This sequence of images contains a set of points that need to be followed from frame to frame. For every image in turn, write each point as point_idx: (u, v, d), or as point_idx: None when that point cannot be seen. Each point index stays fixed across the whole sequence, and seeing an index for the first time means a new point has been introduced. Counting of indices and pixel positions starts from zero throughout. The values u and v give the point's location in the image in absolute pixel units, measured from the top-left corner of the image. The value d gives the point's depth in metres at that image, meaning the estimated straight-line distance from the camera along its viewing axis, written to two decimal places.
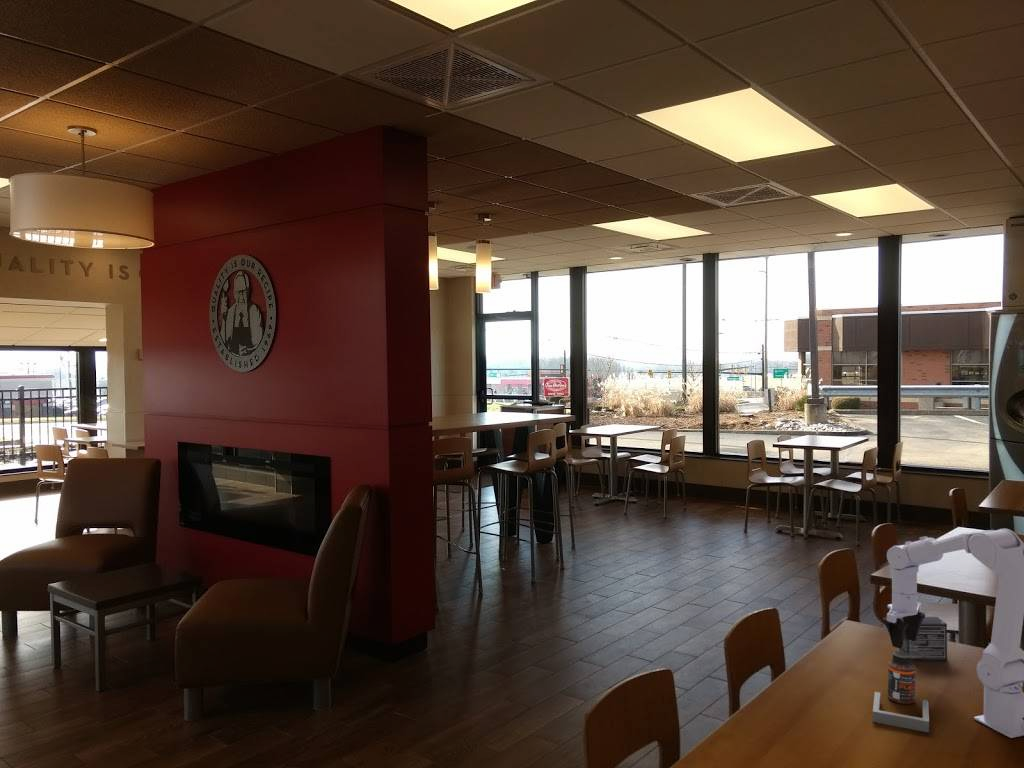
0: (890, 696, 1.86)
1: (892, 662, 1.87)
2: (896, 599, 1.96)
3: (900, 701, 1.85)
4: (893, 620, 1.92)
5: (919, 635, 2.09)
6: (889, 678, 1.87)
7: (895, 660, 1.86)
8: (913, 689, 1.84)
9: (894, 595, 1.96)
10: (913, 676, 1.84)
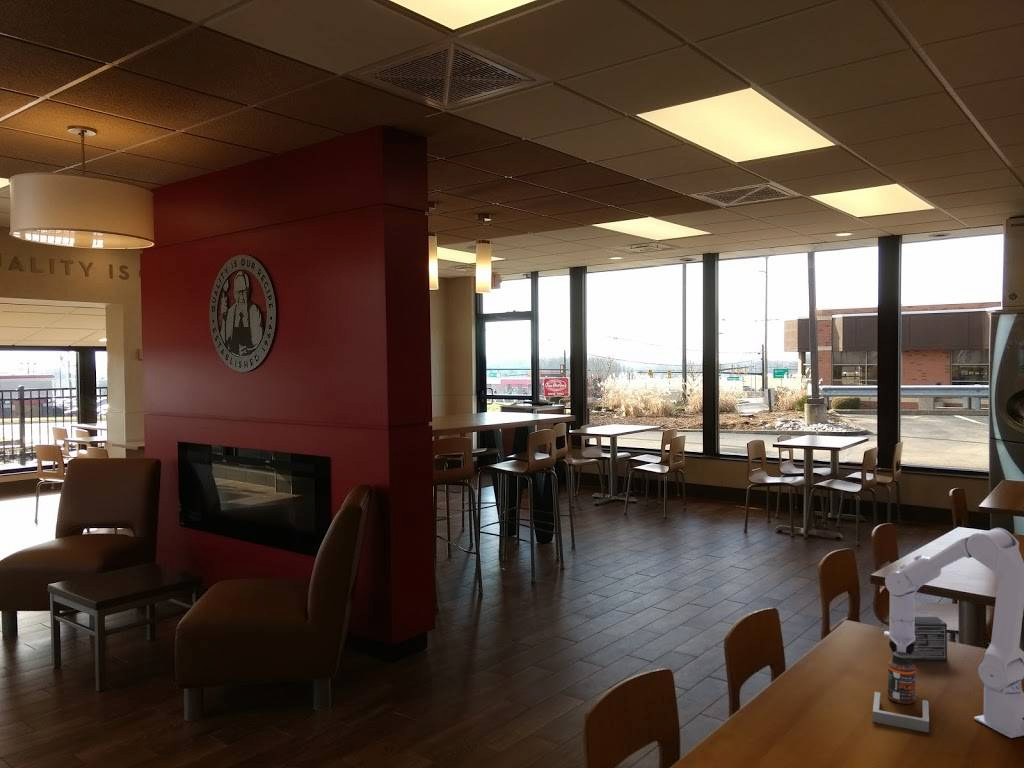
0: (890, 696, 1.86)
1: (892, 662, 1.87)
2: (899, 626, 1.91)
3: (900, 701, 1.85)
4: (904, 650, 1.87)
5: (919, 635, 2.09)
6: (889, 678, 1.87)
7: (895, 660, 1.86)
8: (913, 689, 1.84)
9: (895, 623, 1.92)
10: (913, 676, 1.84)
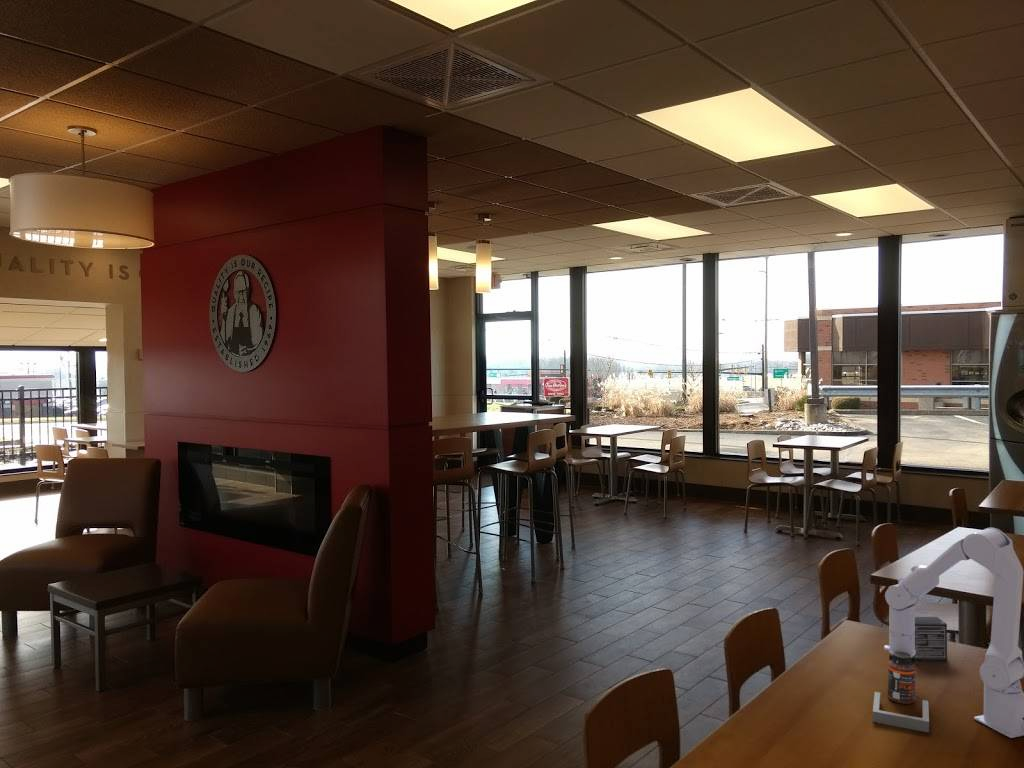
0: (890, 696, 1.86)
1: (892, 662, 1.87)
2: (898, 640, 1.89)
3: (900, 701, 1.85)
4: None
5: (919, 635, 2.09)
6: (889, 678, 1.87)
7: (895, 660, 1.86)
8: (913, 689, 1.84)
9: (895, 637, 1.90)
10: (913, 676, 1.84)
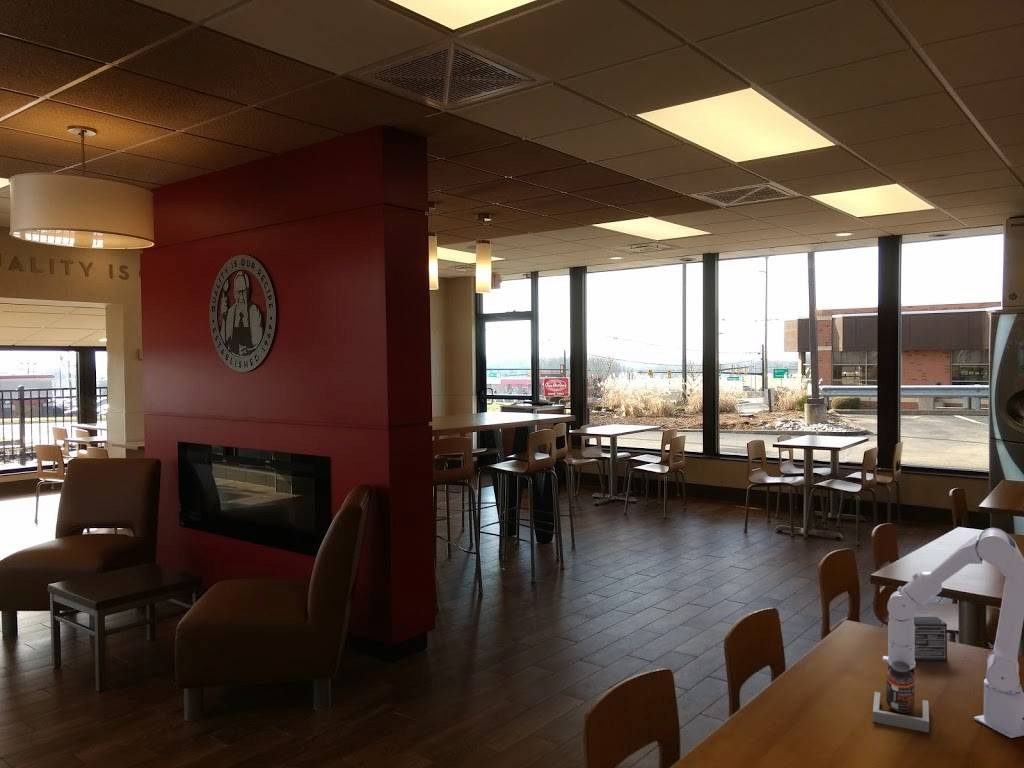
0: (889, 704, 1.82)
1: (890, 674, 1.80)
2: (898, 652, 1.82)
3: (899, 711, 1.80)
4: None
5: (919, 635, 2.09)
6: (887, 688, 1.81)
7: (893, 673, 1.79)
8: (912, 699, 1.79)
9: (894, 648, 1.83)
10: (912, 688, 1.78)
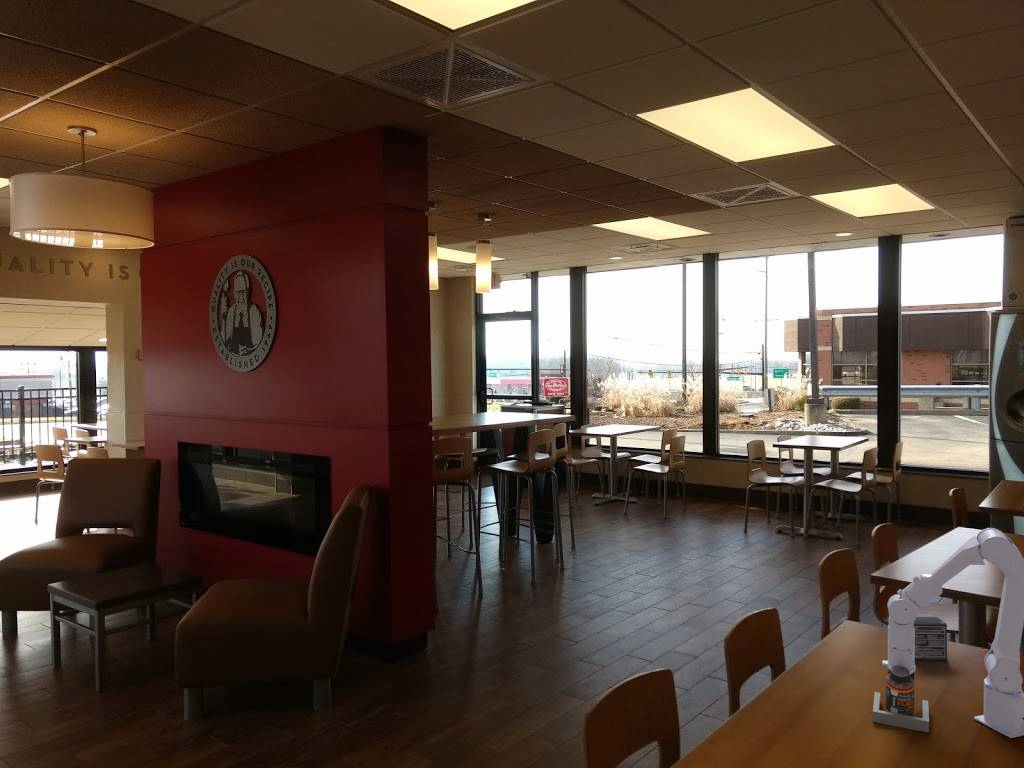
0: (888, 709, 1.79)
1: (890, 678, 1.77)
2: (898, 656, 1.80)
3: None
4: None
5: (919, 635, 2.09)
6: (887, 693, 1.78)
7: (893, 677, 1.76)
8: (912, 704, 1.76)
9: (894, 652, 1.80)
10: (912, 693, 1.75)
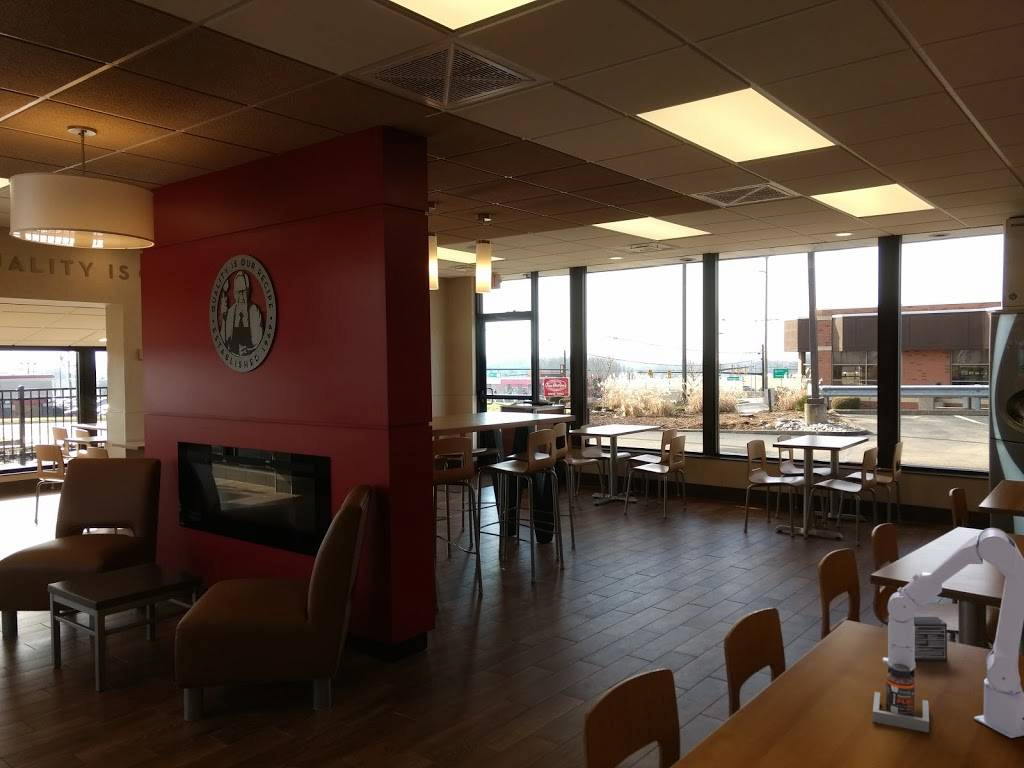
0: (888, 710, 1.79)
1: (890, 675, 1.79)
2: (898, 653, 1.82)
3: None
4: None
5: (919, 635, 2.09)
6: (887, 691, 1.80)
7: (893, 673, 1.78)
8: (912, 703, 1.77)
9: (895, 649, 1.82)
10: (912, 690, 1.77)
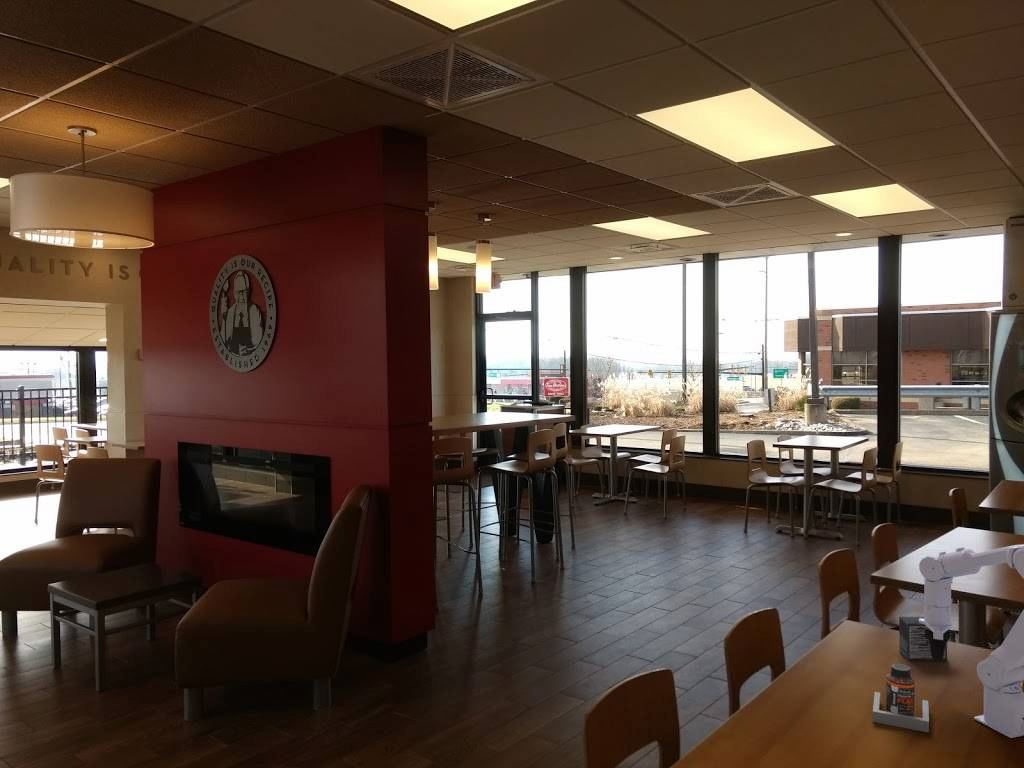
0: (888, 710, 1.79)
1: (890, 675, 1.80)
2: (934, 613, 1.85)
3: None
4: (941, 637, 1.81)
5: (919, 635, 2.09)
6: (887, 691, 1.80)
7: (893, 673, 1.79)
8: (912, 703, 1.77)
9: (931, 609, 1.86)
10: (912, 690, 1.77)
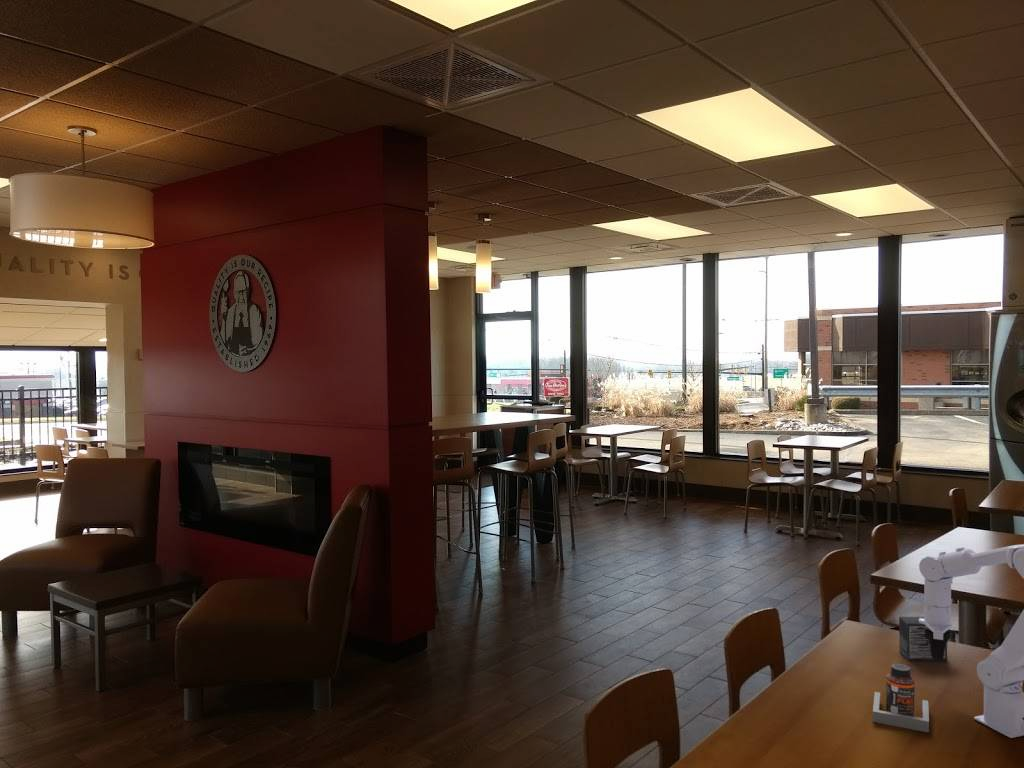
0: (888, 710, 1.79)
1: (890, 675, 1.80)
2: (934, 613, 1.85)
3: None
4: (941, 637, 1.81)
5: (919, 635, 2.09)
6: (887, 691, 1.80)
7: (893, 673, 1.79)
8: (912, 703, 1.77)
9: (931, 609, 1.86)
10: (912, 690, 1.77)
